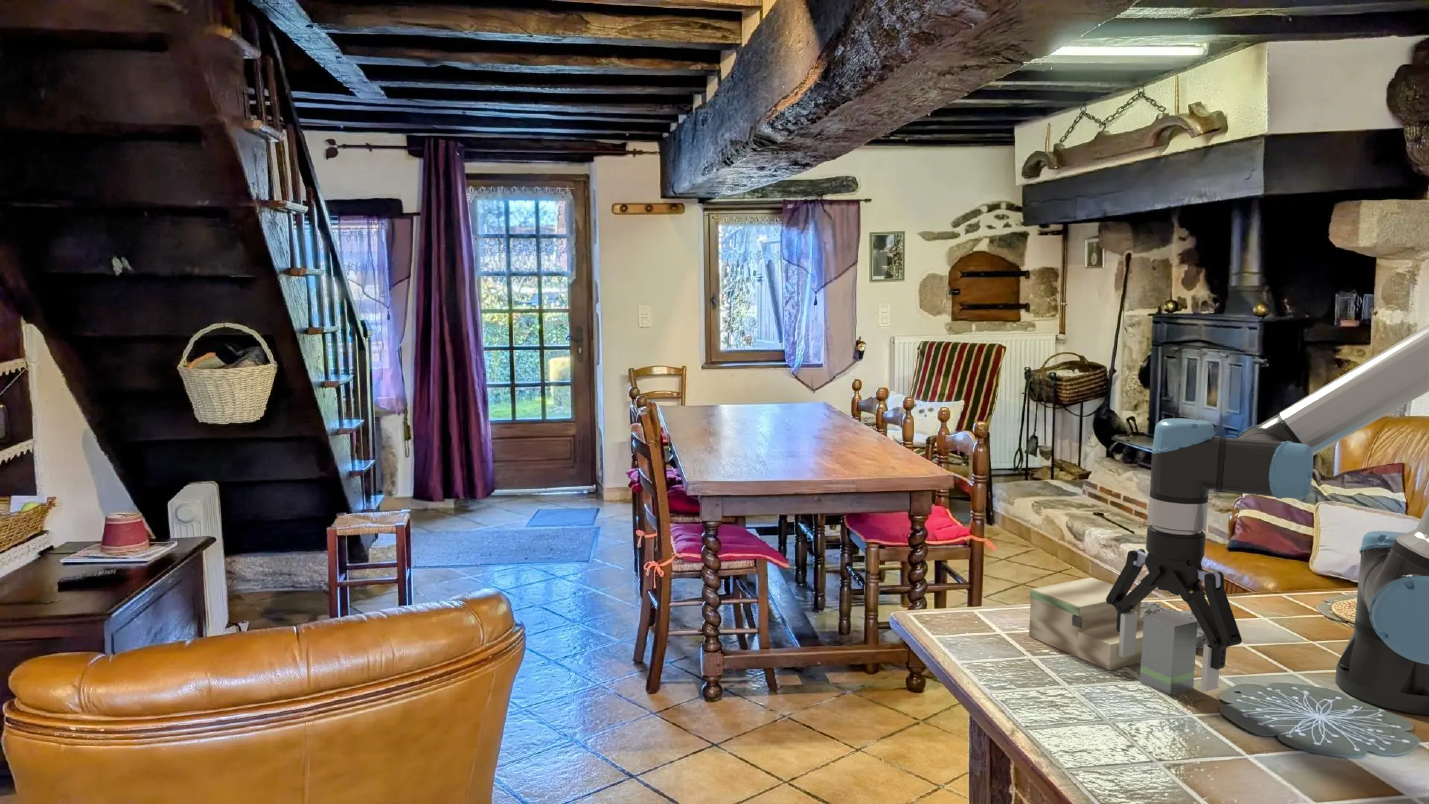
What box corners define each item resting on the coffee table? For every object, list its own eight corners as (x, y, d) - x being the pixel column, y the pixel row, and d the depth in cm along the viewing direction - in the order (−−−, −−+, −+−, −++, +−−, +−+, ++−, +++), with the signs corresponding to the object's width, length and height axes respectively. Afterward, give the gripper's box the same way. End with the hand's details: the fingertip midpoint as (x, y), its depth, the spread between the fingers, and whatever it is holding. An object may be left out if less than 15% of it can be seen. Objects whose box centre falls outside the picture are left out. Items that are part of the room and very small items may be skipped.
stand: (1171, 654, 151) (1174, 604, 150) (1107, 670, 144) (1110, 619, 143) (1088, 622, 165) (1091, 577, 164) (1027, 636, 158) (1029, 589, 157)
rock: (1221, 644, 156) (1223, 614, 156) (1187, 654, 151) (1190, 624, 151) (1148, 620, 167) (1150, 592, 166) (1114, 629, 162) (1117, 600, 161)
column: (1193, 688, 138) (1197, 621, 137) (1170, 695, 136) (1174, 626, 134) (1162, 675, 142) (1167, 610, 141) (1139, 682, 140) (1143, 615, 139)
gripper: (1278, 546, 127) (1265, 699, 130) (1121, 506, 149) (1112, 638, 151) (1243, 553, 123) (1230, 710, 126) (1086, 511, 145) (1078, 646, 148)
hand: (1166, 671), depth 139 cm, fingers open, 13 cm apart
